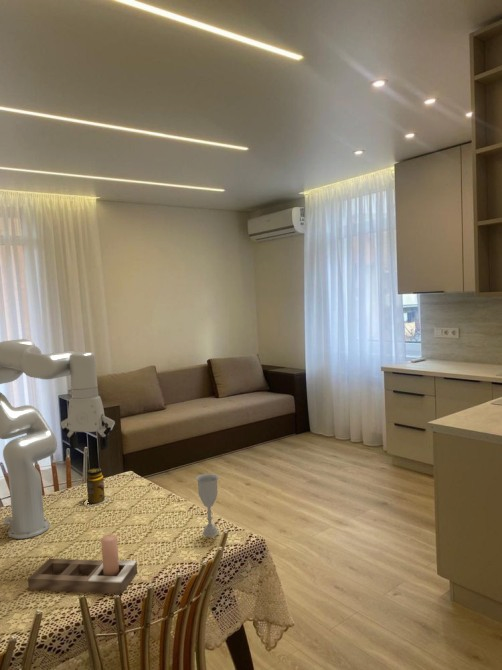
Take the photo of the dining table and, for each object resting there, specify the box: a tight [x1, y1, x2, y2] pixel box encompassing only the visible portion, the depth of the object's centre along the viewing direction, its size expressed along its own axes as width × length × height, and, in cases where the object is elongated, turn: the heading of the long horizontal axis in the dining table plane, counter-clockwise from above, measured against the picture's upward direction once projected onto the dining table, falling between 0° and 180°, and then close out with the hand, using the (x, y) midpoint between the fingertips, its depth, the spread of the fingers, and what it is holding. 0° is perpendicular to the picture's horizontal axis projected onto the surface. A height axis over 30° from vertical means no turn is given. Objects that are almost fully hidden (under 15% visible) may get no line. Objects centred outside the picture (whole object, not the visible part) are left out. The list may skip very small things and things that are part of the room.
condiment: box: [79, 467, 109, 508], centre depth 186 cm, size 7×8×12 cm
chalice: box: [195, 473, 219, 538], centre depth 156 cm, size 7×7×18 cm
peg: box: [100, 534, 120, 577], centre depth 131 cm, size 4×4×12 cm
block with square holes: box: [27, 558, 138, 595], centre depth 133 cm, size 26×10×3 cm, turn 81°
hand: (89, 448), depth 150 cm, fingers open, 9 cm apart
